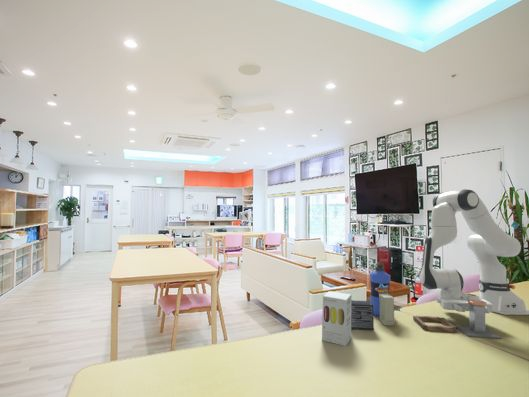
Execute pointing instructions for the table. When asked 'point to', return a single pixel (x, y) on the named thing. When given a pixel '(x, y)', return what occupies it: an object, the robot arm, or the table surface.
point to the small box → (362, 315)
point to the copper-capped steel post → (477, 315)
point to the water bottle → (378, 286)
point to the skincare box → (386, 309)
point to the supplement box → (336, 318)
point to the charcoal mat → (472, 334)
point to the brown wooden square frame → (446, 328)
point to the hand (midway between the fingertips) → (475, 310)
